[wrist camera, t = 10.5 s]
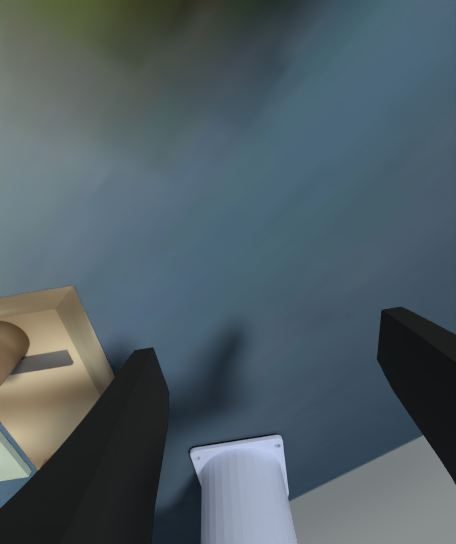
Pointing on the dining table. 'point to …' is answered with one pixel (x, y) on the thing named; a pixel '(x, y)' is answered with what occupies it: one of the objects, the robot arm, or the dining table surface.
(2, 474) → the mat
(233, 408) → the dining table surface
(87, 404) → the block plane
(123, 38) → the dining table surface
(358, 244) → the dining table surface
